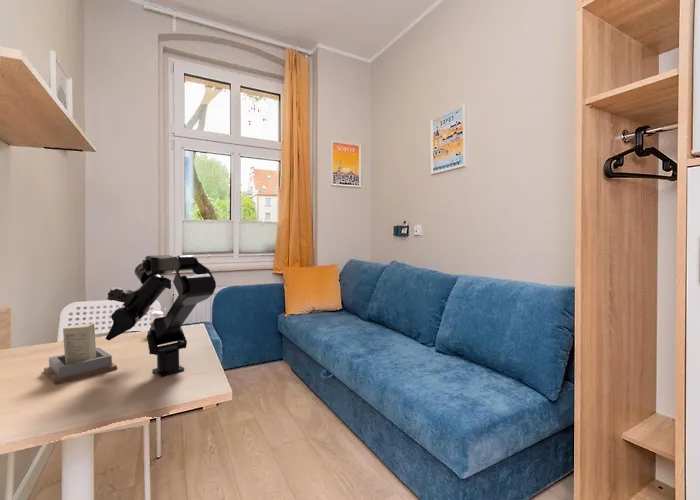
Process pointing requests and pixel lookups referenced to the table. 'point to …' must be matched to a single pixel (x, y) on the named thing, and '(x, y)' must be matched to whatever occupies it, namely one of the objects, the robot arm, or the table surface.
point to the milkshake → (156, 315)
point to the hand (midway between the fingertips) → (112, 334)
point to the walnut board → (78, 376)
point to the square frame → (79, 364)
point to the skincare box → (79, 343)
